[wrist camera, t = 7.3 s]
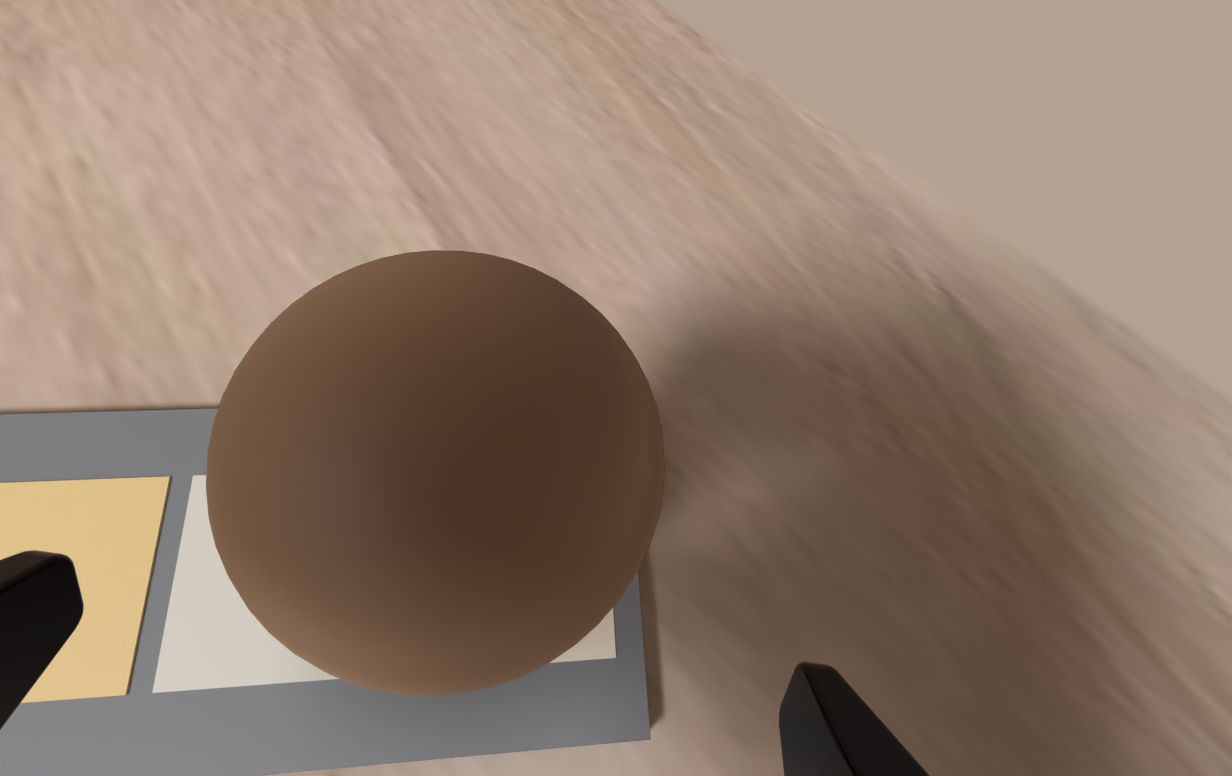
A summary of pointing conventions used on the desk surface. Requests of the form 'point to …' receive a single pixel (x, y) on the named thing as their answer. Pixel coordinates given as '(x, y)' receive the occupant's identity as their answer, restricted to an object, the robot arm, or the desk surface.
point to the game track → (235, 634)
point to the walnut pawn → (435, 473)
